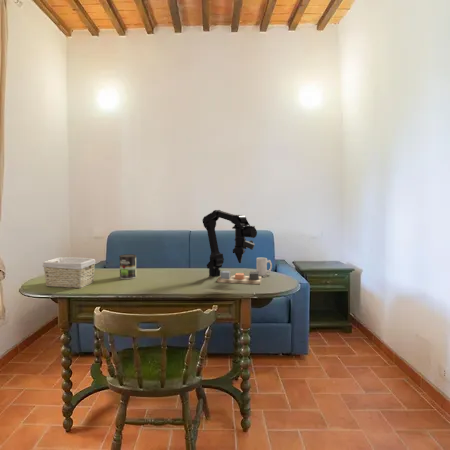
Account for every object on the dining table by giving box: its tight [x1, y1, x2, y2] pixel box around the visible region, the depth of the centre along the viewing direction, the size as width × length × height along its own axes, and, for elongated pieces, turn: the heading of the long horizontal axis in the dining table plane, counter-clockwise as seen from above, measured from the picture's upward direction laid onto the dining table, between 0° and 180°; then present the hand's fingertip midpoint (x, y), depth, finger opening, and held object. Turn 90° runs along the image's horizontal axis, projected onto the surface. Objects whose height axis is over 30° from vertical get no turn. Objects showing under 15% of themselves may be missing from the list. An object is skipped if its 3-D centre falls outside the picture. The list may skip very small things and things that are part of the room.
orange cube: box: [234, 272, 245, 279], centre depth 192 cm, size 5×5×5 cm
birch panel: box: [216, 274, 263, 285], centre depth 192 cm, size 25×12×3 cm, turn 80°
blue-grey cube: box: [221, 270, 231, 279], centre depth 193 cm, size 5×5×5 cm
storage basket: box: [42, 256, 96, 289], centre depth 188 cm, size 24×16×15 cm
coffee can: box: [119, 253, 137, 280], centre depth 205 cm, size 10×10×14 cm
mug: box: [255, 256, 273, 277], centre depth 207 cm, size 10×7×12 cm, turn 91°
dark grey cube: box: [249, 271, 259, 280], centre depth 190 cm, size 5×5×5 cm
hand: (240, 263), depth 191 cm, fingers closed
